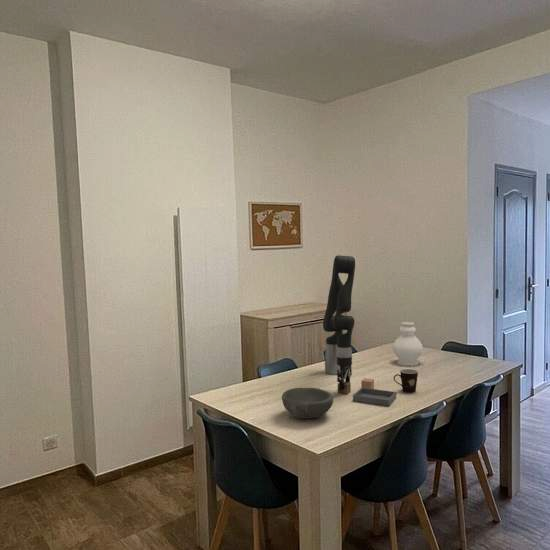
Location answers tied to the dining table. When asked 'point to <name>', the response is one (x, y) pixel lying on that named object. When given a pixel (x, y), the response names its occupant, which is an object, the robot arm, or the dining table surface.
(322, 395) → the bowl
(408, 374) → the coffee mug
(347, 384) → the walnut block
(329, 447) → the dining table surface
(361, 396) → the charcoal tray
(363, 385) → the terracotta block
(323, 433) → the dining table surface
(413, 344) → the decorative vase
